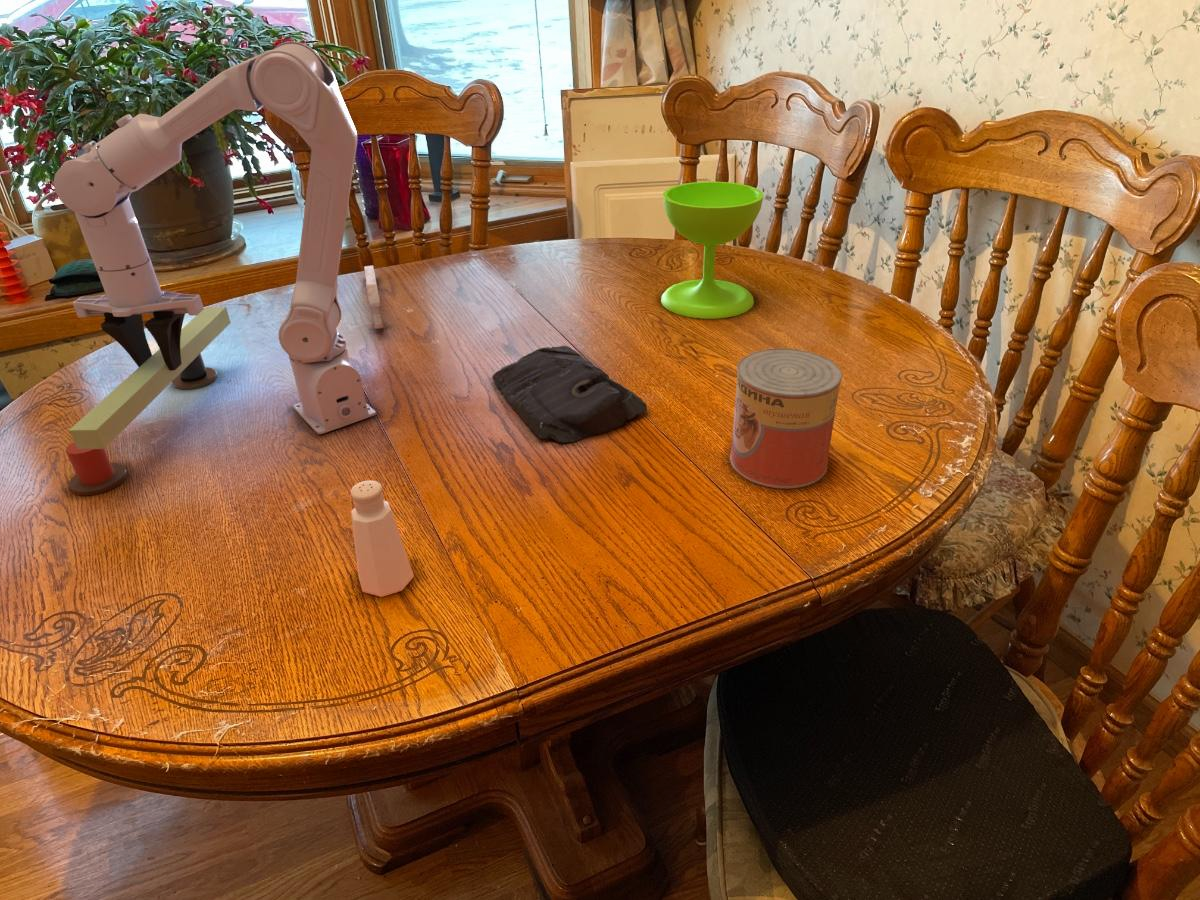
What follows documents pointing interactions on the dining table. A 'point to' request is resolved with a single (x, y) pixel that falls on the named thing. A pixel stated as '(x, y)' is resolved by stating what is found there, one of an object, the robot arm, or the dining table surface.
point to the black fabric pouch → (565, 395)
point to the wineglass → (710, 244)
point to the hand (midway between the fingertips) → (161, 367)
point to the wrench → (373, 297)
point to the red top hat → (93, 471)
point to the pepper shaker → (377, 542)
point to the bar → (146, 383)
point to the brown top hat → (195, 375)
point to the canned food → (784, 417)
